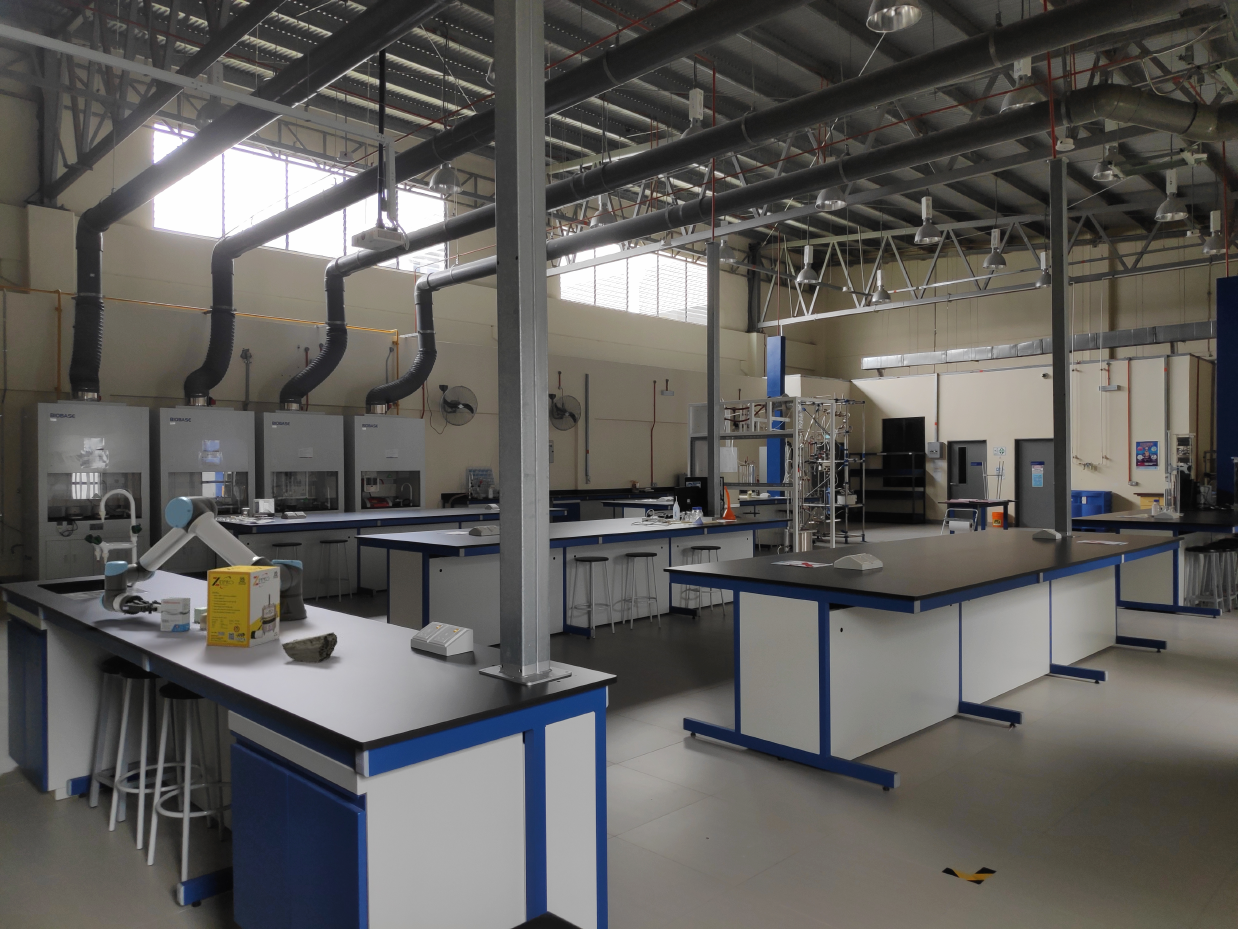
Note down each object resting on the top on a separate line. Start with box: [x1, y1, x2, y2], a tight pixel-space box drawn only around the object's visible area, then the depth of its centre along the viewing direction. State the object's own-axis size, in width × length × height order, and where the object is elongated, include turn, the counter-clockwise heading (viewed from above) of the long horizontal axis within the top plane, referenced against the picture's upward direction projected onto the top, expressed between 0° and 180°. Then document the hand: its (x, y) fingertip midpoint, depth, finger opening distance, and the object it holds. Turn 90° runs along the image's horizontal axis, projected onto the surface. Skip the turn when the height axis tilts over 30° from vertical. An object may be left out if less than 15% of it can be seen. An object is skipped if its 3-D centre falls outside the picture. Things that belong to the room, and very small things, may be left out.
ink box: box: [160, 596, 191, 633], centre depth 296 cm, size 8×5×12 cm, turn 84°
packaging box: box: [205, 565, 280, 648], centre depth 278 cm, size 16×16×25 cm
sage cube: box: [193, 606, 207, 623], centre depth 315 cm, size 5×5×5 cm
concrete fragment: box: [281, 631, 338, 664], centre depth 254 cm, size 15×10×15 cm
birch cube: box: [199, 613, 207, 630], centre depth 302 cm, size 5×5×5 cm
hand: (164, 609), depth 300 cm, fingers closed
